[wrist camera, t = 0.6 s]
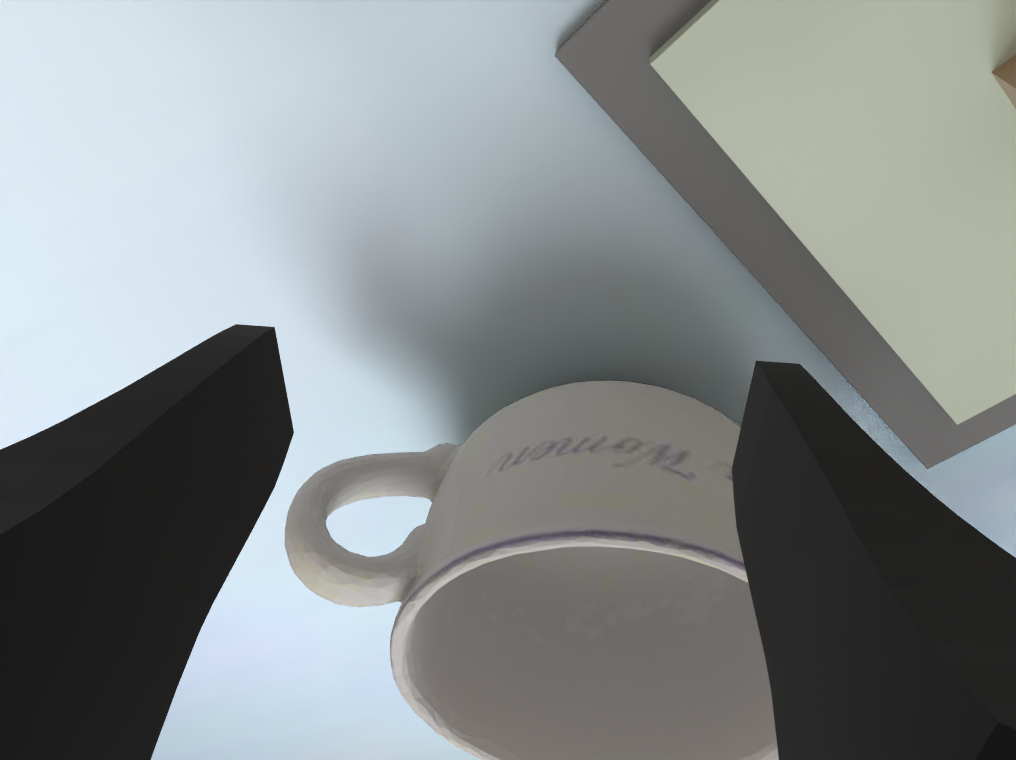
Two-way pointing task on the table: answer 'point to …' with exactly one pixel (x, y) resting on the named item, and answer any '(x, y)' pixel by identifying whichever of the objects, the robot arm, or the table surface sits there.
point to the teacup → (563, 580)
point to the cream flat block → (880, 161)
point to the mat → (755, 222)
